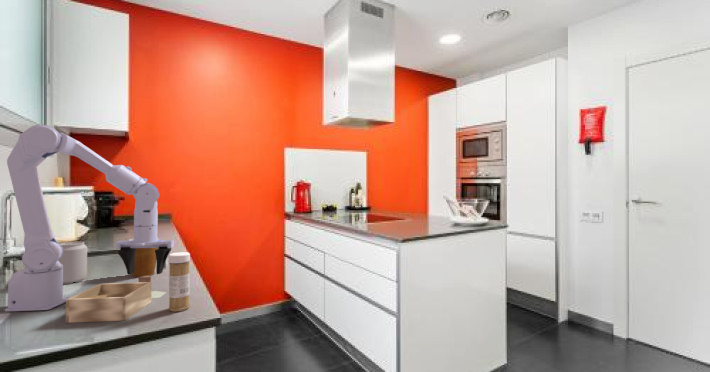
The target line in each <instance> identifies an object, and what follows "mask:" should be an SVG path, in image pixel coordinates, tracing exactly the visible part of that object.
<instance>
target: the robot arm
mask: <svg viewBox="0 0 710 372" xmlns="http://www.w3.org/2000/svg"><path fill="white" fill-rule="evenodd" d="M57 153H60V154H62V155H67V156H74V157H76V158H78V159H80V160H81V161H83V162H85V163H86V164H88V165H90V166H91V167H93V168H95V170H98V171H99V172H101V173H103V174H104V175H105V180H106V182H107V183H109V184H111V185H112V186H113V187H114V188H117V190H120V191H122V192H123V193H124V194H126V195H128V196H131V195H133V198H134V199H135V202H134V203H135V205H134V206H135V207H134V210H133V238H134V240H130V241H128V240H118V241H116V242H115V243H116V245H115V246H116V247H115V249H117V250H118V251H117V253H118V256H119V257H120V258H121V260H122V261H123V263H124V266H125V269H126V272H127V276H130V275H132V274H133V273H134V261H135V254H136V249H137V248H158V249H157V250H155V254H156V267H155V272H156V274H157V275H160V274H162V273H163V271H164V268H165V263H166V261H167V259H168V258H169V255H170V254H171V251H172V248H174V247H175V239H174V240H171V239H169V240H168V239H159V240H157V237H158V225H159V223H158V222H159V220H158V219H159V215H158V214H159V212H158V211H159V210H158V199H159V198H160V192H159V189H158V188H157V186H155V184H152V183H150V182H148V178H145V177H142V176H139V175H138V174H137V173H135V172H134V171H132V170H133V169H132V167H130V166H129V165H127V166H125V165H123V164H117V165H115V164H114V165H113V164H112V163H111V162H110V161H108V160H106V158H104V157H102V156H101V155H100V154H98V153H96V152H95V151H94V150H92V149H91V148H89V147H88V146H86V145H84V144H83V143H82V142H81V141H79V140H77V139H75V138H73V137H71V136H69V135H67V134H65V133H63V132H59V131H57V130H56V129H55V128H54V127H52V126H50V125H48V124H34V125H33V126H30V127H29V128H27V129H26V130H24V131H23V132H22V133H20V134H19V135H18V138H17V141H16V143H15V145H14V147H13V148H12V150H11V151H10V154H9V155H8V157H7V158H6V163H7V164H6V165H7V167H8V172H9V176H10V181H11V185H12V188H13V192H14V196H15V201H16V204H17V205H16V206H17V208H18V209H17V210H18V212H19V213H18V214H19V216H20V222H21V226H22V229H23V233H24V235H23V246H24V247H23V248H24V252H23V254H22V257H21V260H22V261H21V262H22V265H23V266H24V268H23V269H22V270H18V271H16V272H14V273H13V274H12V275H11V276H10V278H9V280H8V285H7V286H8V287H7V288H8V289H7V308H5V309H4V311H5V312H28V311H49V310H51V309H53V308H56V307H58V306H60V305H62V304H65V303H66V299H69V298H71V297H72V296H71V297H69V296H68V297H64V284H63V265H62V264H60V263H59V261H58V260H59V259H60V258H61V256H62V254H63V248H62V246H61V245H60V244H61V243H59V242H58V241H57V239H56V235H55V233H54V230H53V229H52V227H51V222H50V217H49V215H48V210H47V206H46V201H45V197H44V193H43V188H42V184H41V181H40V176H39V173H38V169H37V168H38V166H39V165H40V164H42V162H43V161H45V160H46V159H47V158H48V157H52V156H53V155H55V154H57ZM146 245H152V246H146Z"/></svg>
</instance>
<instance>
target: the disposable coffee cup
mask: <svg viewBox="0 0 710 372" xmlns="http://www.w3.org/2000/svg"><path fill="white" fill-rule="evenodd" d="M130 240H134V237H133V238H129V239H128V240H127V241H130ZM157 240H160V238H159V237H158V236H157ZM146 246H152V245H146ZM157 249H159V248H137V249H136V254H135V261H134V273H133V274H131V276H132V277H134V278H139V277H141V276H152V275H154V274H156V273H155V272H156V267H157V261H156V254H155V250H157Z"/></svg>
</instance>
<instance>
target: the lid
mask: <svg viewBox="0 0 710 372" xmlns="http://www.w3.org/2000/svg"><path fill="white" fill-rule="evenodd" d="M142 282H151V283H152V275H150V276H141V277H138V283H142ZM165 294H167V291H160V290H159V291H158V290H151V299H160V298H161V297H163V296H164V295H165Z"/></svg>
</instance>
